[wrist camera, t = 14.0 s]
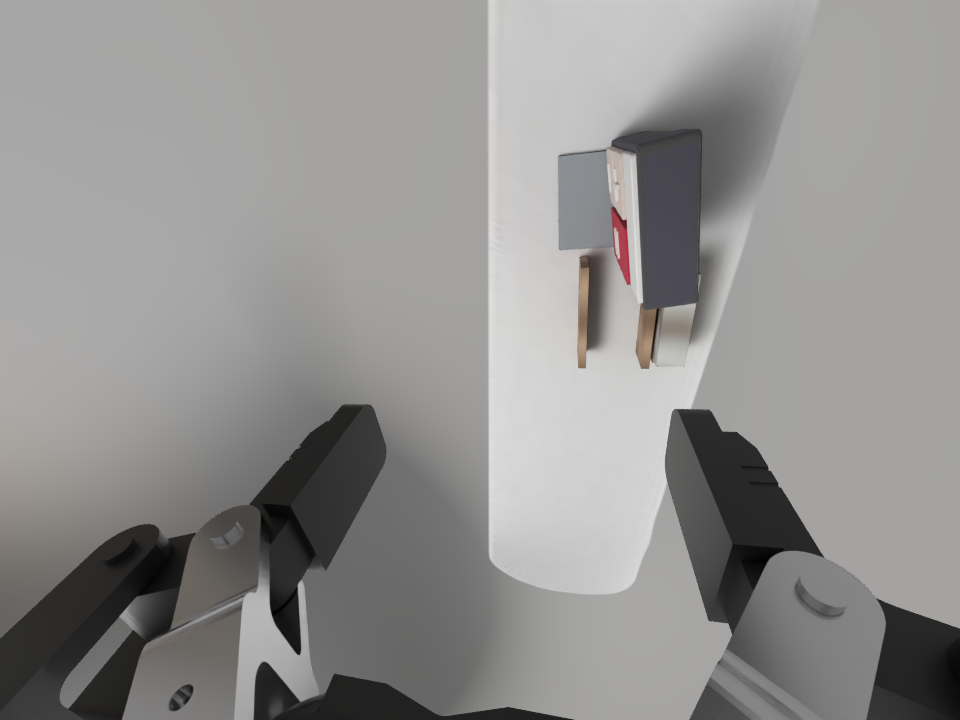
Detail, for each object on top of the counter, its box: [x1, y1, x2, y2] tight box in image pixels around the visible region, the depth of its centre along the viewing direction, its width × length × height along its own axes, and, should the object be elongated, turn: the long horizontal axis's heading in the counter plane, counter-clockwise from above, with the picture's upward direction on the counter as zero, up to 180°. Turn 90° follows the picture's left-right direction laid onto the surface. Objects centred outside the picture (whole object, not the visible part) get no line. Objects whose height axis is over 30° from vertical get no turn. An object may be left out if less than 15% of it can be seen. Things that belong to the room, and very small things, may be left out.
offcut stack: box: [650, 272, 702, 367], centre depth 40 cm, size 11×3×5 cm, turn 6°
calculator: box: [606, 129, 702, 310], centre depth 31 cm, size 11×4×15 cm, turn 14°
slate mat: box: [558, 151, 614, 250], centre depth 38 cm, size 9×12×1 cm
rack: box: [578, 257, 657, 369], centre depth 42 cm, size 12×8×4 cm, turn 6°
